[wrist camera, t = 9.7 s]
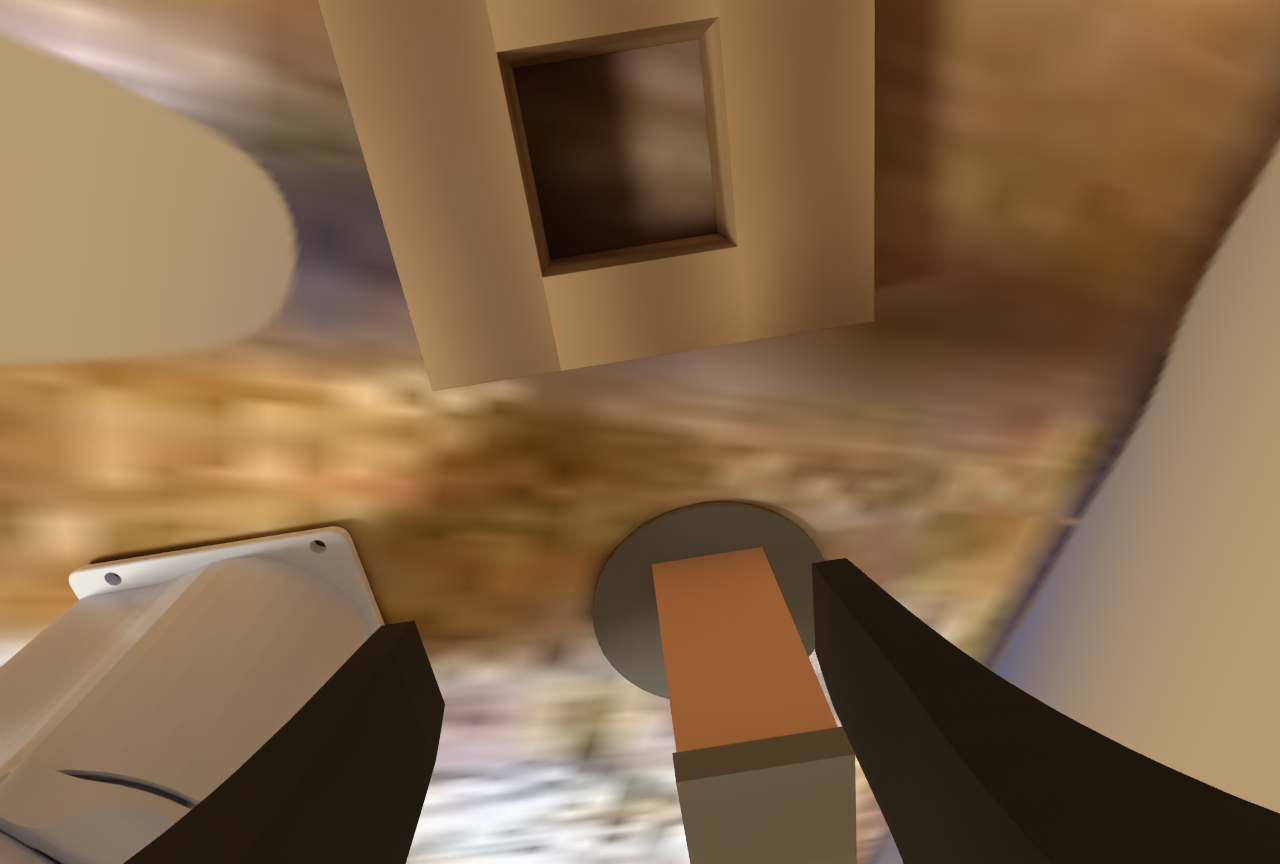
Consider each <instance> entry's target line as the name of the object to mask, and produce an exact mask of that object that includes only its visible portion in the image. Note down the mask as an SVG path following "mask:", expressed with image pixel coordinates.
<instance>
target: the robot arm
mask: <svg viewBox="0 0 1280 864" xmlns="http://www.w3.org/2000/svg"><path fill="white" fill-rule="evenodd" d="M315 540H320V541H322V542H324V544H325V545H326V547H321V546H319V545H317V544H316V542H315ZM114 573H115V574H118V575H119V576H120V577H121V578H119V577H117V576H115V575H114ZM69 583H70V586H71V587H72V589H73V590H74V592H75V594H76V595H77V597H78V599H79V600H78V601H77V602H76V603H75V604H73V605H72V606H71V607H70V608H69V609H68V610H66V611H65V612H64V613H63V614H62V615H61V616H59V617H58V618H57V619H56V620H55V621H54V622H52V623H51V624H50V625H49V626H48V627H47V628H46V629H44V630H43V631H42V632H41V633H40V634H39V635H37V636H36V637H35V638H34V639H33V640H32V641H30V642H29V643H28V644H27V645H26V646H25V647H23V648H22V649H21V650H20V651H19V652H18V653H16V654H15V655H14V656H13V657H12V658H11V659H10V660H8V661H7V662H6V663H5V664H4V665H3V666H1V667H0V864H406V861H407V857H408V854H409V850H410V847H411V844H412V840H413V837H414V834H415V830H416V827H417V824H418V820H419V817H420V814H421V810H422V807H423V803H424V800H425V797H426V793H427V790H428V786H429V783H430V779H431V776H432V772H433V769H434V765H435V761H436V756H437V751H438V745H439V739H440V733H441V727H442V720H443V713H444V707H445V703H444V700H443V698H442V695H441V692H440V690H439V687H438V684H437V681H436V679H435V676H434V673H433V670H432V668H431V665H430V662H429V659H428V657H427V654H426V651H425V649H424V646H423V643H422V640H421V638H420V635H419V632H418V629H417V627H416V624H415V621H410V622H403V623H396V624H390V625H385V624H384V621H383V619H382V616H381V614H380V611H379V608H378V606H377V603H376V601H375V598H374V595H373V593H372V590H371V588H370V585H369V582H368V580H367V577H366V575H365V572H364V569H363V567H362V564H361V562H360V559H359V556H358V554H357V551H356V549H355V546H354V543H353V541H352V538H351V536H350V534H349V533H348V532H347V531H346V530H345V529H343V528H341V527H338V526H331V527H324V528H318V529H312V530H305V531H299V532H293V533H286V534H280V535H274V536H267V537H261V538H255V539H248V540H242V541H236V542H229V543H223V544H217V545H210V546H204V547H198V548H191V549H185V550H179V551H172V552H166V553H160V554H153V555H147V556H140V557H134V558H128V559H121V560H115V561H109V562H102V563H96V564H90V565H84V566H81V567H79V568H77V569H76V570H75V571H74V572H72V574H71V575H70V576H69ZM812 584H813V608H814V632H815V652H816V655H817V658H818V661H819V664H820V668H821V671H822V674H823V677H824V680H825V683H826V686H827V689H828V692H829V695H830V698H831V701H832V704H833V706H834V709H835V711H836V713H837V715H838V718H839V720H840V722H841V724H842V726H843V729H844V731H845V733H846V735H847V737H848V740H849V742H850V744H851V746H852V748H853V751H854V753H855V755H856V757H857V759H858V761H859V764H860V766H861V768H862V770H863V772H864V774H865V777H866V779H867V781H868V783H869V785H870V788H871V790H872V792H873V794H874V796H875V798H876V801H877V803H878V805H879V807H880V809H881V811H882V814H883V816H884V818H885V820H886V822H887V824H888V827H889V829H890V831H891V834H892V836H893V838H894V841H895V843H896V846H897V848H898V850H899V853H900V855H901V858H902V860H903V863H904V864H1280V814H1279V813H1277V812H1274V811H1272V810H1269V809H1266V808H1264V807H1261V806H1259V805H1256V804H1254V803H1251V802H1248V801H1245V800H1243V799H1241V798H1238V797H1236V796H1233V795H1231V794H1229V793H1226V792H1224V791H1221V790H1219V789H1217V788H1215V787H1212V786H1210V785H1208V784H1205V783H1203V782H1201V781H1199V780H1196V779H1194V778H1192V777H1190V776H1187V775H1185V774H1183V773H1181V772H1178V771H1176V770H1174V769H1171V768H1169V767H1167V766H1165V765H1163V764H1161V763H1158V762H1156V761H1154V760H1152V759H1150V758H1148V757H1146V756H1144V755H1142V754H1139V753H1137V752H1135V751H1133V750H1131V749H1129V748H1127V747H1125V746H1123V745H1121V744H1119V743H1117V742H1115V741H1113V740H1111V739H1109V738H1107V737H1105V736H1103V735H1102V734H1100V733H1098V732H1096V731H1094V730H1092V729H1090V728H1088V727H1086V726H1084V725H1082V724H1080V723H1078V722H1076V721H1075V720H1073V719H1071V718H1069V717H1067V716H1066V715H1064V714H1062V713H1060V712H1058V711H1056V710H1055V709H1053V708H1051V707H1049V706H1048V705H1046V704H1044V703H1043V702H1041V701H1039V700H1038V699H1036V698H1034V697H1033V696H1031V695H1029V694H1028V693H1026V692H1024V691H1023V690H1021V689H1019V688H1018V687H1016V686H1014V685H1013V684H1011V683H1009V682H1007V681H1006V680H1004V679H1003V678H1001V677H1000V676H998V675H997V674H995V673H994V672H992V671H990V670H989V669H987V668H986V667H984V666H983V665H982V664H980V663H979V662H977V661H976V660H974V659H973V658H971V657H970V656H969V655H967V654H966V653H964V652H963V651H961V650H960V649H959V648H957V647H956V646H954V645H953V644H952V643H950V642H949V641H948V640H946V639H945V638H944V637H942V636H941V635H940V634H938V633H937V632H936V631H934V630H933V629H932V628H931V627H929V626H928V625H927V624H925V623H924V622H923V621H921V620H920V619H919V618H918V617H916V616H915V615H914V614H912V613H911V612H910V611H909V610H907V609H906V608H905V607H904V606H903V605H901V604H900V603H899V602H898V601H896V600H895V599H894V598H893V597H892V596H890V595H889V594H888V593H887V592H886V591H884V590H883V589H882V588H881V587H880V586H879V585H877V584H876V583H875V582H874V581H873V580H871V579H870V578H869V577H868V576H867V575H866V574H864V573H863V572H862V571H861V570H860V569H859V568H857V567H856V566H855V565H854V564H853V563H851V562H850V561H849V560H848V559H846V558H843V559H836V560H829V561H823V562H816V563H812Z"/></svg>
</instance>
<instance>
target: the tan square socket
mask: <svg viewBox="0 0 1280 864" xmlns="http://www.w3.org/2000/svg"><path fill="white" fill-rule="evenodd" d="M318 1H319V5H320V8H321V12H322V15H323V18H324V22H325V25H326V29H327V32H328V36H329V39H330V42H331V46H332V49H333V53H334V56H335V59H336V63H337V66H338V70H339V73H340V77H341V80H342V83H343V87H344V90H345V94H346V97H347V100H348V104H349V107H350V111H351V114H352V118H353V121H354V124H355V128H356V131H357V135H358V138H359V141H360V145H361V148H362V152H363V155H364V159H365V162H366V165H367V169H368V172H369V176H370V179H371V182H372V186H373V189H374V193H375V196H376V200H377V203H378V206H379V210H380V213H381V217H382V220H383V223H384V227H385V230H386V234H387V237H388V241H389V244H390V247H391V251H392V254H393V258H394V261H395V264H396V268H397V271H398V275H399V278H400V282H401V285H402V288H403V292H404V295H405V299H406V302H407V305H408V309H409V312H410V316H411V319H412V323H413V326H414V329H415V333H416V336H417V340H418V343H419V346H420V350H421V353H422V357H423V360H424V364H425V367H426V370H427V374H428V377H429V381H430V384H431V387H432V391H437V390H443V389H450V388H456V387H462V386H468V385H475V384H481V383H487V382H494V381H500V380H506V379H513V378H519V377H525V376H532V375H538V374H544V373H551V372H557V371H563V370H570V369H576V368H582V367H589V366H595V365H601V364H608V363H614V362H620V361H627V360H633V359H639V358H646V357H652V356H658V355H665V354H671V353H677V352H684V351H690V350H696V349H703V348H709V347H715V346H722V345H728V344H734V343H741V342H747V341H753V340H760V339H766V338H772V337H778V336H785V335H791V334H797V333H804V332H810V331H816V330H823V329H829V328H835V327H842V326H848V325H854V324H861V323H867V322H873V321H874V131H875V0H318ZM695 39H699V42H700V53H701V64H702V74H703V85H704V96H705V107H706V117H707V128H708V139H709V150H710V160H711V171H712V182H713V193H714V203H715V214H716V225H717V233H716V234H710V235H703V236H697V237H691V238H684V239H678V240H672V241H665V242H659V243H653V244H646V245H640V246H634V247H627V248H621V249H615V250H608V251H602V252H596V253H590V254H583V255H577V256H571V257H564V258H558V259H552V260H550V256H549V251H548V246H547V241H546V236H545V231H544V226H543V221H542V216H541V211H540V206H539V201H538V195H537V190H536V185H535V180H534V175H533V170H532V165H531V160H530V155H529V150H528V145H527V140H526V135H525V129H524V124H523V119H522V114H521V109H520V104H519V99H518V94H517V89H516V84H515V79H514V74H513V69H512V68H519V67H525V66H531V65H538V64H544V63H550V62H557V61H563V60H569V59H575V58H582V57H588V56H594V55H601V54H607V53H613V52H619V51H626V50H632V49H638V48H645V47H651V46H657V45H664V44H670V43H676V42H682V41H689V40H695Z"/></svg>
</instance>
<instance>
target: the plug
mask: <svg viewBox="0 0 1280 864" xmlns="http://www.w3.org/2000/svg"><path fill="white" fill-rule="evenodd" d="M652 571H653V578H654V586H655V593H656V601H657V608H658V616H659V623H660V631H661V638H662V646H663V653H664V661H665V668H666V676H667V683H668V691H669V698H670V706H671V713H672V721H673V729H674V736H675V744H676V751H677V753H673V761H674V769H675V777H676V784H677V790H678V795H679V801H680V807H681V812H682V818H683V824H684V829H685V835H686V841H687V847H688V852H689V858H690V864H857V860H856V790H855V753H854V751H853V749H852V746H851V744H850V742H849V740H848V737H847V735H846V733H845V731H844V729H843V726H842V727H838V726H837V724H836V722H835V719H834V717H833V715H832V712H831V710H830V707H829V705H828V703H827V700H826V698H825V696H824V693H823V691H822V688H821V686H820V684H819V681H818V679H817V676H816V674H815V672H814V669H813V667H812V665H811V662H810V660H809V657H808V655H807V653H806V650H805V648H804V645H803V643H802V641H801V638H800V636H799V634H798V631H797V629H796V626H795V624H794V622H793V619H792V617H791V615H790V612H789V610H788V607H787V605H786V603H785V600H784V598H783V595H782V593H781V591H780V588H779V586H778V584H777V581H776V579H775V576H774V574H773V572H772V569H771V567H770V565H769V562H768V560H767V557H766V555H765V553H764V550H763V548H762V547H758V548H752V549H745V550H739V551H733V552H726V553H720V554H714V555H707V556H701V557H695V558H688V559H682V560H676V561H669V562H663V563H656V564H652Z"/></svg>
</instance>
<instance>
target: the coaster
mask: <svg viewBox="0 0 1280 864" xmlns="http://www.w3.org/2000/svg"><path fill="white" fill-rule="evenodd" d="M758 547H762V548H763V550H764V553H765V555H766V557H767V560H768V562H769V565H770V567H771V569H772V572H773V574H774V576H775V579H776V581H777V584H778V586H779V588H780V591H781V593H782V595H783V598H784V600H785V603H786V605H787V607H788V610H789V612H790V615H791V617H792V619H793V622H794V624H795V626H796V629H797V631H798V634H799V636H800V638H801V641H802V643H803V645H804V648H805V650H806V653H807V655H808V657H809V656H810V654H811V653H812V652H813V650H814V649H815V632H814V608H813V584H812V563H816V562H823V561H824V559H823V557H822V555H821V553H820V551H819V550H818V548H817V547H816V545H815V544H814V543H813V541H812V540H811V539H810V538H809V537H808V535H807V534H806V533H805V532H804V531H803V530H802V529H800V528H799V527H798V526H797V525H795V524H794V523H793V522H791V521H790V520H788V519H786V518H785V517H783V516H781V515H779V514H777V513H775V512H772V511H770V510H767V509H765V508H762V507H758V506H754V505H750V504H744V503H737V502H708V503H699V504H694V505H690V506H685V507H681V508H678V509H676V510H673V511H670V512H667V513H665V514H663V515H661V516H658V517H656V518H654V519H652V520H651V521H649V522H647V523H646V524H644V525H643V526H641V527H639V528H638V529H637V530H636V531H634V532H633V533H632V534H631V535H629V536H628V537H627V538H626V539H625V540H624V541H623V542H622V543H621V544H620V545H619V546H618V547H617V548H616V549H615V551H614V552H613V554H612V555H611V556H610V558H609V559H608V560H607V562H606V564H605V566H604V568H603V570H602V572H601V574H600V577H599V579H598V582H597V585H596V590H595V595H594V608H593V620H594V627H595V633H596V636H597V639H598V642H599V645H600V647H601V649H602V651H603V653H604V655H605V656H606V658H607V659H608V660H609V662H610V663H611V665H612V666H613V667H614V668H615V669H616V670H617V671H618V672H619V673H620V674H621V675H622V676H623V677H625V678H626V679H627V680H628V681H630V682H631V683H633V684H634V685H636V686H638V687H639V688H641V689H643V690H645V691H647V692H650V693H652V694H654V695H657V696H660V697H663V698H667V699H670V698H669V691H668V683H667V676H666V668H665V661H664V653H663V646H662V638H661V631H660V623H659V616H658V608H657V601H656V593H655V586H654V578H653V571H652V564H656V563H663V562H669V561H676V560H682V559H688V558H695V557H701V556H707V555H714V554H720V553H726V552H733V551H739V550H745V549H752V548H758Z"/></svg>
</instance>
